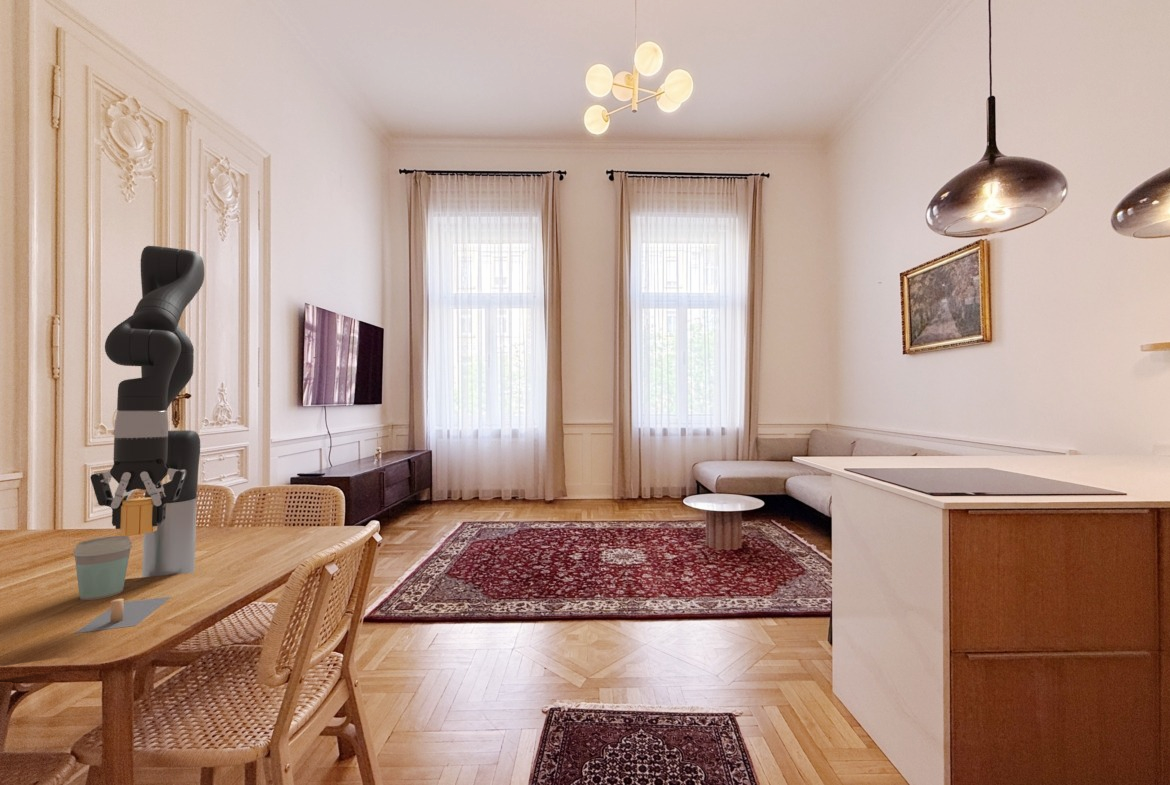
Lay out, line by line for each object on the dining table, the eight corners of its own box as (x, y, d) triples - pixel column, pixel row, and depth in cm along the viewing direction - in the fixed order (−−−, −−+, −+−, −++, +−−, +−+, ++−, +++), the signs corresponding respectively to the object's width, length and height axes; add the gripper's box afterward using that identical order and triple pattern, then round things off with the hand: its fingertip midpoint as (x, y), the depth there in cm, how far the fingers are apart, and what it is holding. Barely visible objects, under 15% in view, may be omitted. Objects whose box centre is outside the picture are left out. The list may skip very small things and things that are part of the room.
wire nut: (129, 530, 93) (130, 498, 93) (160, 528, 95) (161, 496, 95) (115, 536, 89) (116, 502, 89) (149, 534, 90) (150, 501, 91)
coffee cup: (126, 590, 104) (128, 533, 104) (134, 600, 98) (136, 539, 99) (67, 602, 97) (70, 541, 98) (72, 614, 92) (75, 548, 92)
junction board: (118, 610, 93) (119, 583, 93) (170, 604, 96) (171, 578, 96) (73, 642, 80) (74, 611, 80) (135, 634, 83) (136, 604, 83)
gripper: (195, 433, 99) (193, 519, 98) (103, 434, 93) (100, 525, 93) (180, 435, 92) (177, 527, 91) (80, 436, 86) (76, 535, 86)
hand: (138, 526), depth 92 cm, fingers closed on wire nut, 4 cm apart
